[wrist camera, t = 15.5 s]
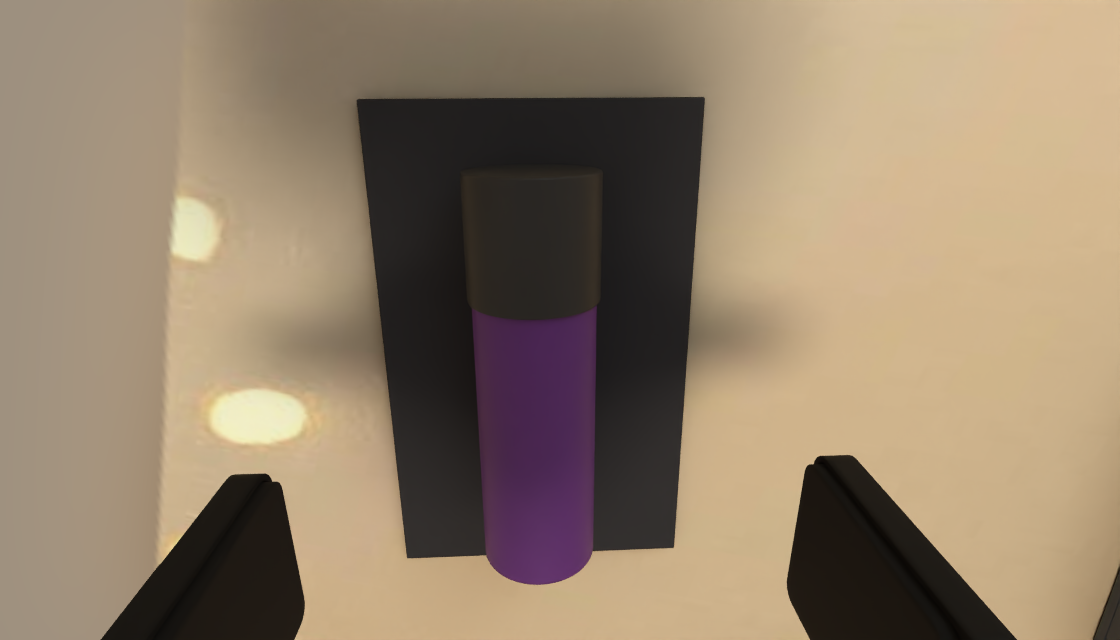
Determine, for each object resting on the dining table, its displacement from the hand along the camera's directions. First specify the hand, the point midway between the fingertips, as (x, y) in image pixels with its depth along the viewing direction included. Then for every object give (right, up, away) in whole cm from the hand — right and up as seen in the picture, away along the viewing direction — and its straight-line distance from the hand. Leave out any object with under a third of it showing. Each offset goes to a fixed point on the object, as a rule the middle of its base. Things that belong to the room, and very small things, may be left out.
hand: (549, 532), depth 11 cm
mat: (-1, +3, +10) cm, 10 cm away
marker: (-1, +2, +9) cm, 10 cm away
